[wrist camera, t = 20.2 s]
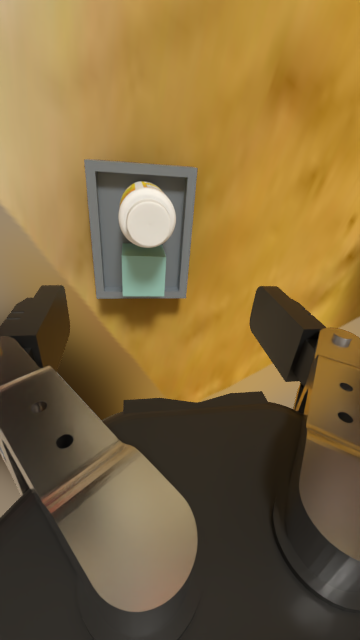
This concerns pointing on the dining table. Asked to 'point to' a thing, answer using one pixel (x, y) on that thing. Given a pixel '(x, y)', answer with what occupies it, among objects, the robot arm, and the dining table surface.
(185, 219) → the tray
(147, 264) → the teal block
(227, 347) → the dining table surface
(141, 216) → the supplement bottle
